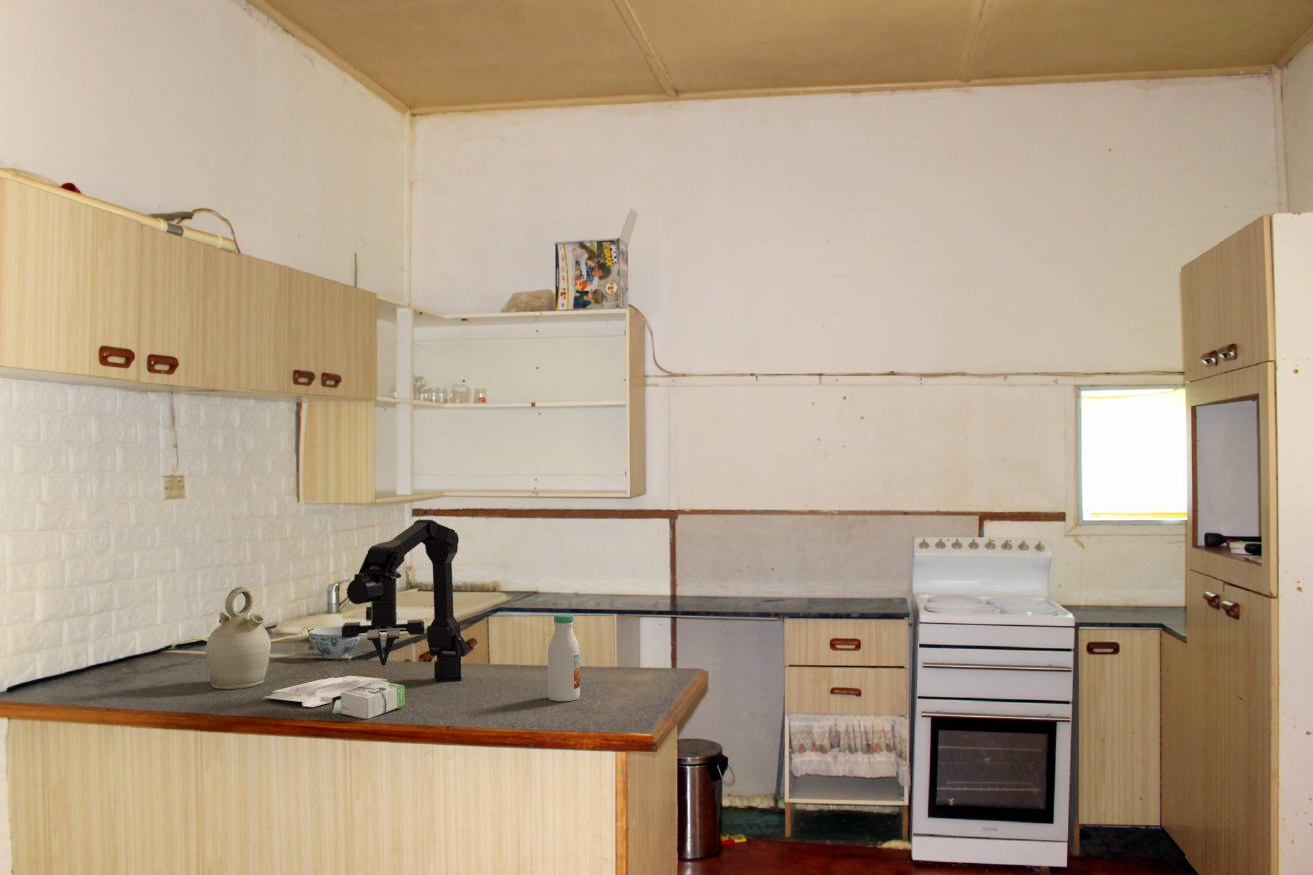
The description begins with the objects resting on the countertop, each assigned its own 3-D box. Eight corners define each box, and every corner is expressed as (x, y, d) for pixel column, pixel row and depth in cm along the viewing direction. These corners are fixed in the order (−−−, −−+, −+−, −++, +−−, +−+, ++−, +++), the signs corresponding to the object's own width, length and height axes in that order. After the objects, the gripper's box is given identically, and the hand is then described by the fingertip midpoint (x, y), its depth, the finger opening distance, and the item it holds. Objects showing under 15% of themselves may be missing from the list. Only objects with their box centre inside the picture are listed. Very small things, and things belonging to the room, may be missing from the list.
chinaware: (348, 649, 303) (348, 624, 304) (371, 656, 292) (371, 630, 293) (300, 656, 293) (300, 630, 294) (322, 663, 282) (322, 636, 282)
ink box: (405, 684, 228) (367, 697, 218) (405, 706, 228) (367, 719, 218) (378, 679, 232) (339, 691, 222) (378, 700, 233) (339, 713, 222)
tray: (251, 700, 238) (251, 684, 238) (339, 682, 262) (339, 668, 262) (312, 707, 228) (313, 690, 228) (397, 687, 253) (397, 673, 253)
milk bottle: (566, 703, 232) (566, 618, 233) (541, 699, 236) (541, 615, 237) (586, 697, 239) (586, 614, 239) (560, 693, 243) (560, 611, 243)
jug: (281, 683, 256) (281, 586, 256) (221, 693, 244) (221, 592, 245) (254, 675, 266) (255, 582, 267) (195, 684, 255) (196, 587, 255)
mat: (388, 698, 238) (388, 696, 238) (387, 710, 226) (387, 708, 226) (336, 701, 235) (336, 699, 235) (332, 713, 224) (332, 711, 224)
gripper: (423, 593, 244) (423, 656, 243) (344, 596, 239) (344, 660, 239) (424, 599, 233) (424, 665, 233) (341, 602, 229) (341, 669, 228)
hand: (383, 665), depth 233 cm, fingers closed
